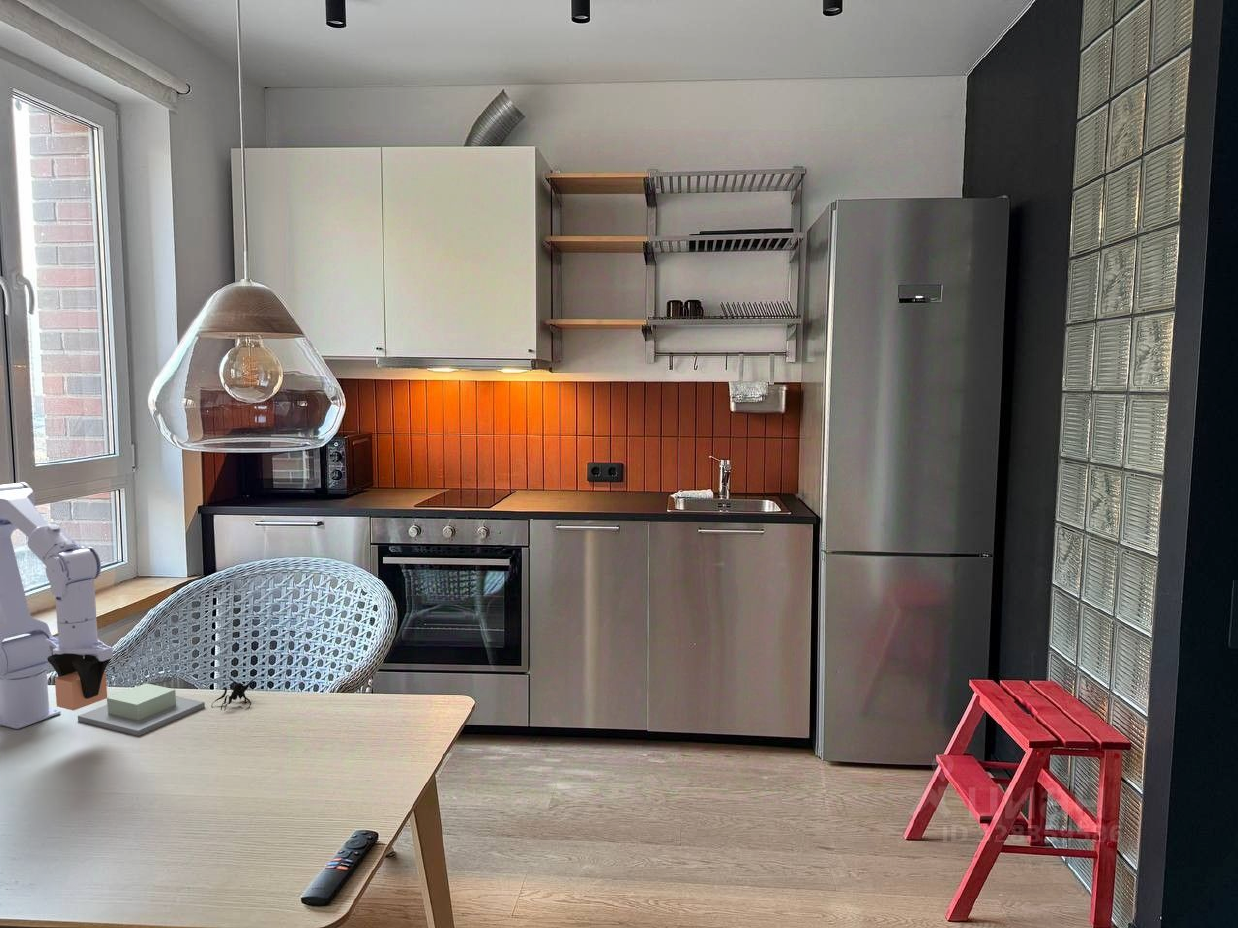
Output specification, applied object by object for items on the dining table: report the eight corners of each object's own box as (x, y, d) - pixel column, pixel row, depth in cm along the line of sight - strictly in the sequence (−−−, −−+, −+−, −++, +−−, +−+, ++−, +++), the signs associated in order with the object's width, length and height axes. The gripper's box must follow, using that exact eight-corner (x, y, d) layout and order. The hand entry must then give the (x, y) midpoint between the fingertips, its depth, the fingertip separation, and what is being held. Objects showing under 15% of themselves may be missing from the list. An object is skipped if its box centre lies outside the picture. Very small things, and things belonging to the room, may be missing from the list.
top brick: (56, 706, 142) (54, 678, 142) (90, 694, 148) (88, 667, 147) (73, 710, 140) (71, 682, 140) (107, 697, 146) (105, 670, 145)
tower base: (78, 720, 153) (76, 700, 152) (146, 694, 166) (145, 675, 165) (138, 735, 147) (137, 714, 146) (204, 706, 159) (203, 687, 159)
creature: (243, 719, 157) (264, 694, 164) (239, 695, 155) (260, 671, 163) (204, 717, 158) (227, 692, 165) (199, 693, 156) (223, 669, 163)
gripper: (25, 619, 141) (31, 695, 143) (82, 630, 136) (87, 709, 137) (66, 609, 148) (71, 681, 149) (122, 618, 142) (126, 694, 144)
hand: (81, 694), depth 144 cm, fingers closed on top brick, 4 cm apart
